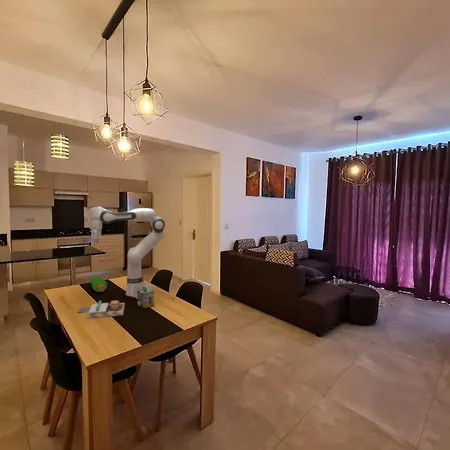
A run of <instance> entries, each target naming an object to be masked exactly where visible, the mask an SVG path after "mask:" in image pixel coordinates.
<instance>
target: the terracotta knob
mask: <svg viewBox="0 0 450 450" xmlns="http://www.w3.org/2000/svg"><path fill="white" fill-rule="evenodd" d="M119 303H120V300H111V301H110V303H109V304H111V311H119Z"/></svg>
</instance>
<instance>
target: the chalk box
mask: <svg viewBox="0 0 450 450" xmlns="http://www.w3.org/2000/svg"><path fill="white" fill-rule="evenodd" d="M144 288H145V287H143V290H140V291H137V292H138V297H137V305H138V306H139V307H140V308H142V309H147V308H151V307H153V306H155V303H154V302H155V301H154V300H155V298H154V297H155V296H154V295H155V294H154V290H153V289H152V290H153V291H152V290H150V289H151V288H150V289H146V288H145V289H144Z"/></svg>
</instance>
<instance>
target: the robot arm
mask: <svg viewBox="0 0 450 450" xmlns="http://www.w3.org/2000/svg"><path fill="white" fill-rule="evenodd" d="M88 217H89V230H90V231H91V233H90V234H91V235H90V237H91V241H93V246H97V244H99V242H100V238H101V236H102V229H103V224H105V225H110V224H111V223H114V222H117V221H132V222H149V224H150V226H151V228H152V229H153V230H152V231H151V232H150V233H149V234H148V235H146V236H145V237H144V238H143V239H141V240H140V242H139V243H138V244H137V245H136V246H135V247H134V246H133V247H131V248H129V250H128V252H127V256H126V258H127V278H126V292H125V295H126V296H127V297H132V298H138V292H137V291H140V290H143V287H145V288H146V289H150V290H152V291H154V289H152V288H151V286H150V284H149V283H148V282H146V281H145V278H144V276H142V259H143V258H145V256H146V255H147V254H149V252H150V251H151V250H153V249H154V248H155V247H156V246H157V245H159V243H161V241H162V240H163V239H164V238H165V232H164V229H165V227H166V222H165V221H164V219H163V218H162V217H161V216H158V215H156V212H155V209H154V208H148V207H147V208H146V207H141V208H140V207H138V208H133V209H131V210H129V211H123V212H122V211H121V212H113V211H112V210H109V209H105V208H104V207H102V206H100V205H96V206H92V207H90V209H89V215H88ZM145 288H144V289H145Z"/></svg>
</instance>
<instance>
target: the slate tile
mask: <svg viewBox="0 0 450 450" xmlns="http://www.w3.org/2000/svg"><path fill="white" fill-rule="evenodd" d="M90 308H91V306H90V307H80V308H79V309H78V311H77V313H78V314H82V313H85V312H89V310H90Z"/></svg>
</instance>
